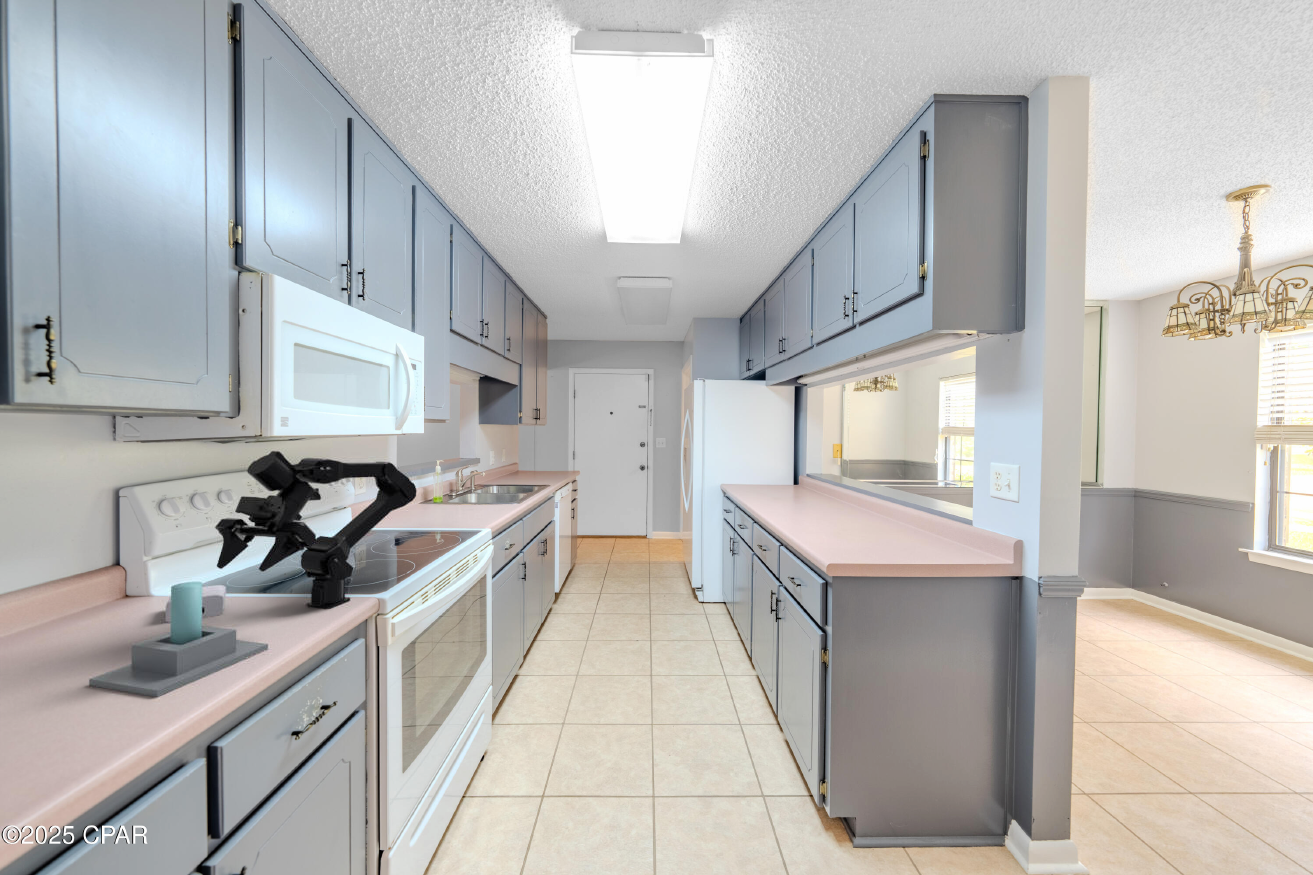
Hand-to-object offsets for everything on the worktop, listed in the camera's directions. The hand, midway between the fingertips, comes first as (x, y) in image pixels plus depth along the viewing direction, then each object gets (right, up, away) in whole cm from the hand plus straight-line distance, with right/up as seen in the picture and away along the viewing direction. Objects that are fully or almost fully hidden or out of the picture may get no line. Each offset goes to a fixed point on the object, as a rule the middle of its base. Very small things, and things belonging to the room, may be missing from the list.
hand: (239, 569), depth 102 cm
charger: (-22, -13, +16) cm, 30 cm away
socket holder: (0, -14, -12) cm, 18 cm away
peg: (0, -13, -12) cm, 17 cm away
